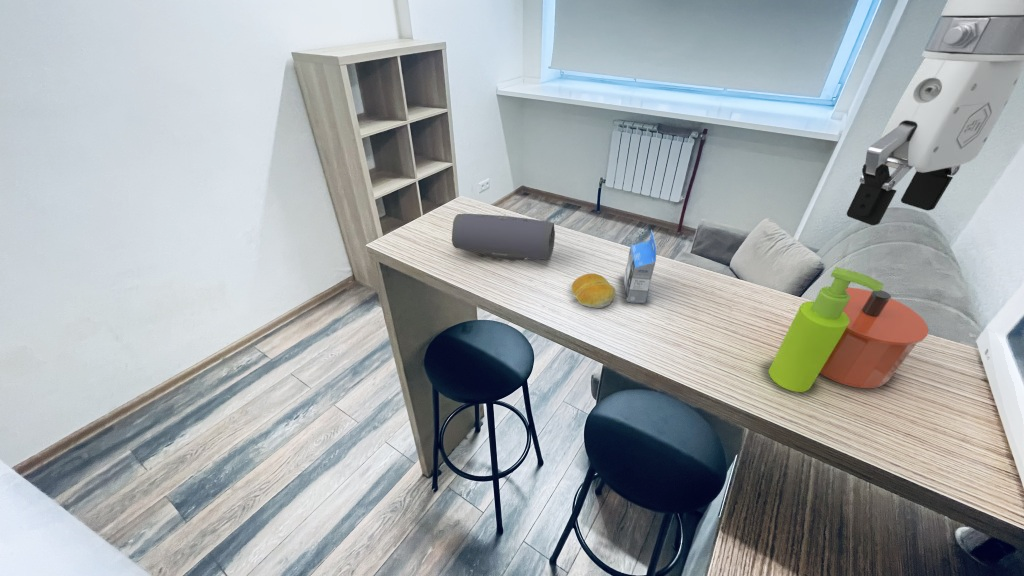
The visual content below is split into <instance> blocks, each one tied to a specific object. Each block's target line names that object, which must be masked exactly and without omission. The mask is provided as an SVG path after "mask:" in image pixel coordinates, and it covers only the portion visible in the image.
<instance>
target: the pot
mask: <svg viewBox="0 0 1024 576" xmlns="http://www.w3.org/2000/svg"><path fill="white" fill-rule="evenodd" d="M917 344H918V343H916V344H912V345H892V344H885V343H880V342H876V341H872V340H869V339H866V338H863V337H860V336H858V335H855V334H853V333H851V332H849V331H846V330H845V331H844V333H843V334H842V336H841V338H840V339H839V341H838V343H837V344H836V346H835V348H834V349H833V351H832V353H831V354H830V356H829V358H828V359H827V361H826V363H825V364H824V366H823V368H822V369H821V371H820V373H819V375H821V376H823V377H825V378H827V379H830V380H831V381H833V382H836V383H839V384H841V385H845V386H849V387H853V388H857V389H858V388H860V389H876V388H879V387H882V386H884V385H885V384H886V383H888V382H890V380H891V378H892V377H893V376H894V374H895V373H896V372H897V370H898V369H900V367H901V365H902V364H903V362H904V361H905V359H906V358H907V357H908V356H909V354H910V353H911V352H912V350H913V349H914V348H915V346H916V345H917Z"/></svg>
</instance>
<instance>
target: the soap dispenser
mask: <svg viewBox="0 0 1024 576" xmlns="http://www.w3.org/2000/svg"><path fill="white" fill-rule="evenodd" d="M830 277H832V278H834V280H833V281H832V282H831V284H830V286H823V287H821V288H820V290H819V292H818V294H817V296H816V298H815V299H814V300H809V301H804V302H803V303H801V304H800V305H799V307H798V310H797V312H796V314H795V316H794V318H793V320H792V322H791V324H790V326H789V328H788V330H787V332H786V334H785V337H784V338H783V341H782V342H781V344H780V346H779V348H778V350H777V352H776V354H775V356H774V358H773V361H772V363H771V364H770V367H769V368H768V374H769V377H770V378H771V379H772V381H773V382H774V383H775V384H776V385H778V386H779V387H781V388H783V389H786V390H788V391H791V392H795V393H803V392H807V391H809V390H810V389H811V387H812V386H813V384H814V383H815V381H816V380H817V377H818V376H819V375H820V371H821V369H822V368H823V366H824V364H825V363H826V361H827V359H828V358H829V356H830V354H831V353H832V351H833V349H834V348H835V346H836V344H837V343H838V341H839V339H840V338H841V336H842V334H843V333H844V331H845V329H846V328H847V326H848V324H849V322H850V321H849V318H848V316H847V315H846V314H845V313H844V312H843V310H844V308H845V307H846V305H847V303H848V302H849V300H850V296H849V294H848V293H846V292H845V291H846V289H847V288H848V287H849V286H850V284H851V283H854V284H857V285H860V286H863V287H866V288H868V289H870V290H872V291H873V290H874V291H881V290H882V291H883V287H884V284H885V283H882V282H881V281H879V280H877V279H875V278H874V277H871V276H869V275H866V274H863V273H861V272H857V271H854V270H850V269H846V268H842V267H836V266H835V267H834V269H833V271H832V273H831V275H830Z"/></svg>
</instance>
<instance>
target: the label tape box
mask: <svg viewBox="0 0 1024 576" xmlns="http://www.w3.org/2000/svg"><path fill="white" fill-rule="evenodd" d="M657 251H658V250H657V243H656V239H655V236H654V233H653V229H650V235H649V240H646V241H643V242H639V243H636V244H631V245H630V246H629V252H628V255H627V256H628V257H627V261H626V267H625V270H624V275H623V285H624V289H625V290H624V291H625V298H626V302H627V303H632V304H646V301H647V297H648V293H649V289H650V286H651V281H652V278H653V273H654V269H655V266H656V262H657Z"/></svg>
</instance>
